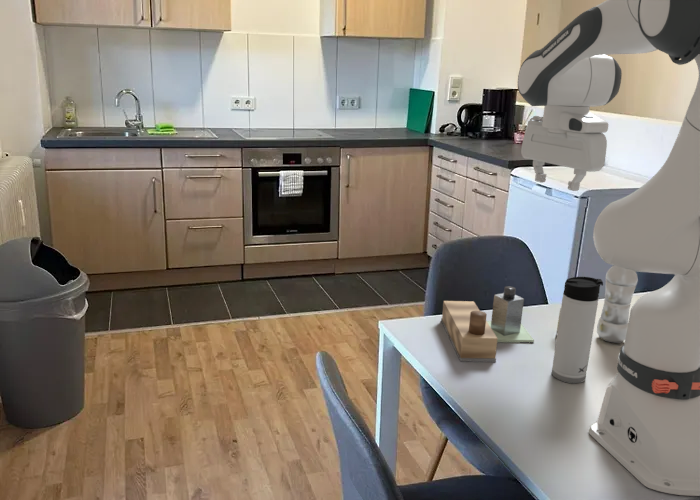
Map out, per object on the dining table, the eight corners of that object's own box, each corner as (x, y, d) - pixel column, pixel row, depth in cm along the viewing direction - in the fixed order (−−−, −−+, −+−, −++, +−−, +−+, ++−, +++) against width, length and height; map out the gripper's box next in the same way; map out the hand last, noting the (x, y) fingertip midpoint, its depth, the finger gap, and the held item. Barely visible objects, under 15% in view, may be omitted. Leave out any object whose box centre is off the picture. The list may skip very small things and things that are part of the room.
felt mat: (533, 342, 137) (534, 340, 137) (488, 342, 137) (488, 339, 137) (519, 324, 147) (519, 321, 147) (477, 323, 146) (477, 320, 146)
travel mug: (589, 386, 120) (606, 286, 114) (553, 381, 121) (567, 282, 115) (584, 371, 125) (600, 275, 120) (550, 366, 127) (563, 271, 121)
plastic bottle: (621, 334, 143) (636, 250, 137) (630, 347, 137) (646, 259, 131) (591, 332, 144) (605, 248, 138) (599, 345, 137) (614, 257, 132)
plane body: (495, 361, 128) (500, 320, 125) (460, 361, 127) (464, 319, 125) (471, 321, 147) (475, 284, 145) (441, 320, 147) (444, 283, 144)
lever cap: (519, 332, 141) (525, 290, 138) (504, 335, 139) (509, 292, 136) (506, 325, 144) (511, 283, 142) (490, 328, 142) (495, 286, 140)
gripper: (518, 114, 138) (511, 177, 142) (592, 125, 121) (582, 196, 125) (540, 114, 141) (532, 176, 145) (615, 124, 124) (604, 194, 128)
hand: (556, 185), depth 135 cm, fingers open, 8 cm apart
